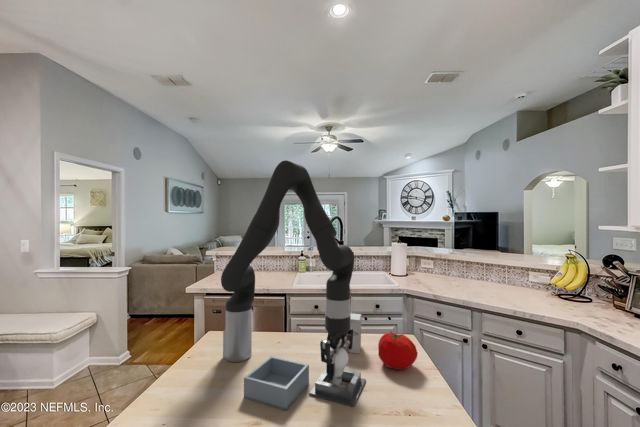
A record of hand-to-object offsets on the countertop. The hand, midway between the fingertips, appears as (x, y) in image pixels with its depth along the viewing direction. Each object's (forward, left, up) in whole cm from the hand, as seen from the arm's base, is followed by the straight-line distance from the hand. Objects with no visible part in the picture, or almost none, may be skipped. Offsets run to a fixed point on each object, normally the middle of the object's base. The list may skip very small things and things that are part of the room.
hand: (337, 370), depth 82 cm
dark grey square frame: (0, +1, -5) cm, 5 cm away
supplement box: (-4, +27, -6) cm, 27 cm away
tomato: (+14, +21, -6) cm, 26 cm away
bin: (-16, -7, -5) cm, 18 cm away
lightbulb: (0, 0, -4) cm, 4 cm away
